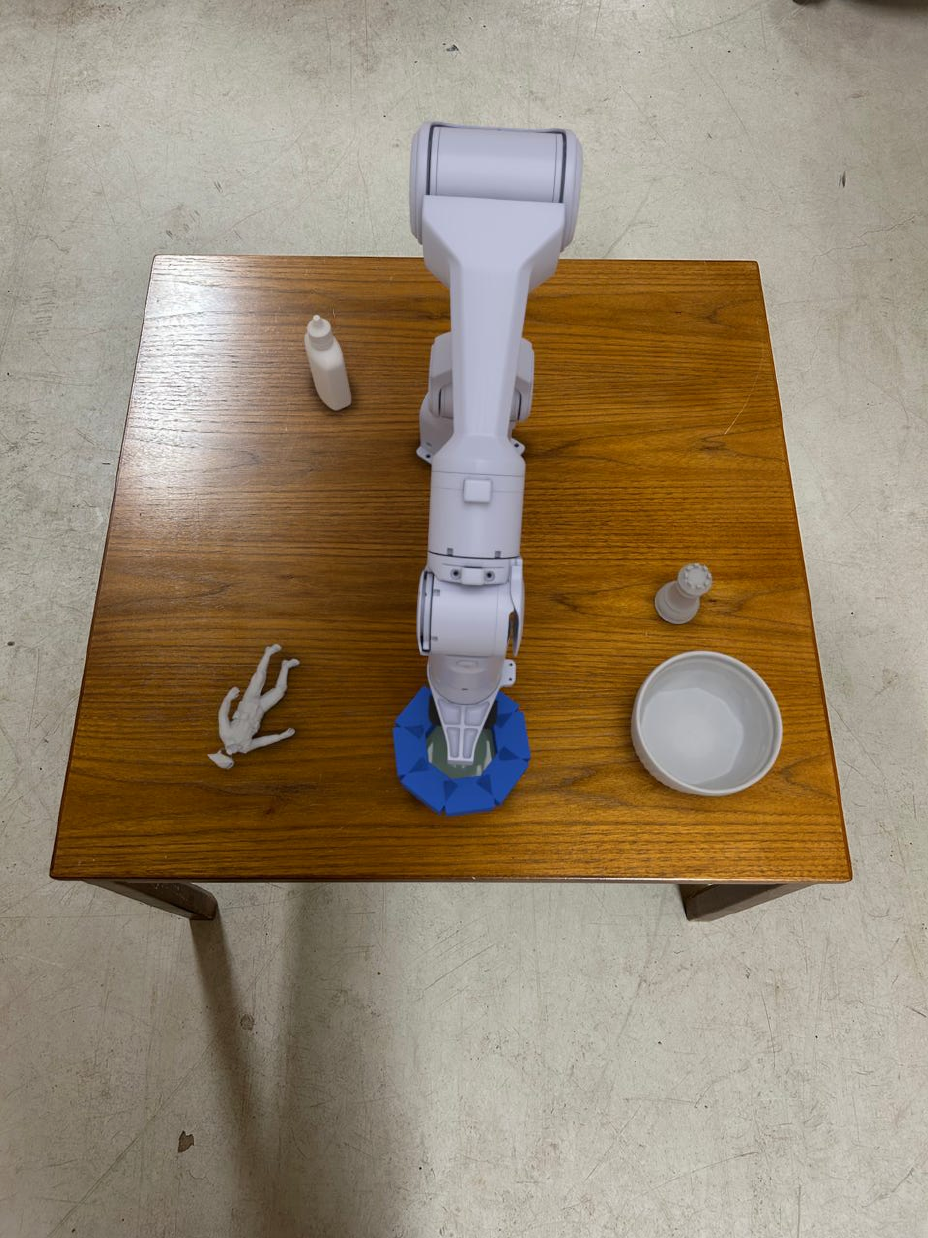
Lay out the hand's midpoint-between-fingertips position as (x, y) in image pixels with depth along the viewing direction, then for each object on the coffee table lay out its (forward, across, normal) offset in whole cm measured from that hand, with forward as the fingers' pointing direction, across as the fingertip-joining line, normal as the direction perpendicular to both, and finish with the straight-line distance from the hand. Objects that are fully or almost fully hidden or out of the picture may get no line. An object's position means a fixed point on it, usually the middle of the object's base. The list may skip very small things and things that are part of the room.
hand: (463, 697), depth 70 cm
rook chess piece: (+7, +13, -22) cm, 26 cm away
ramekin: (+7, -1, -22) cm, 23 cm away
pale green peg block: (+6, -4, 0) cm, 8 cm away
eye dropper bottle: (+7, +36, +17) cm, 41 cm away
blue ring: (+1, -4, 0) cm, 5 cm away
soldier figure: (+7, -1, +20) cm, 21 cm away
